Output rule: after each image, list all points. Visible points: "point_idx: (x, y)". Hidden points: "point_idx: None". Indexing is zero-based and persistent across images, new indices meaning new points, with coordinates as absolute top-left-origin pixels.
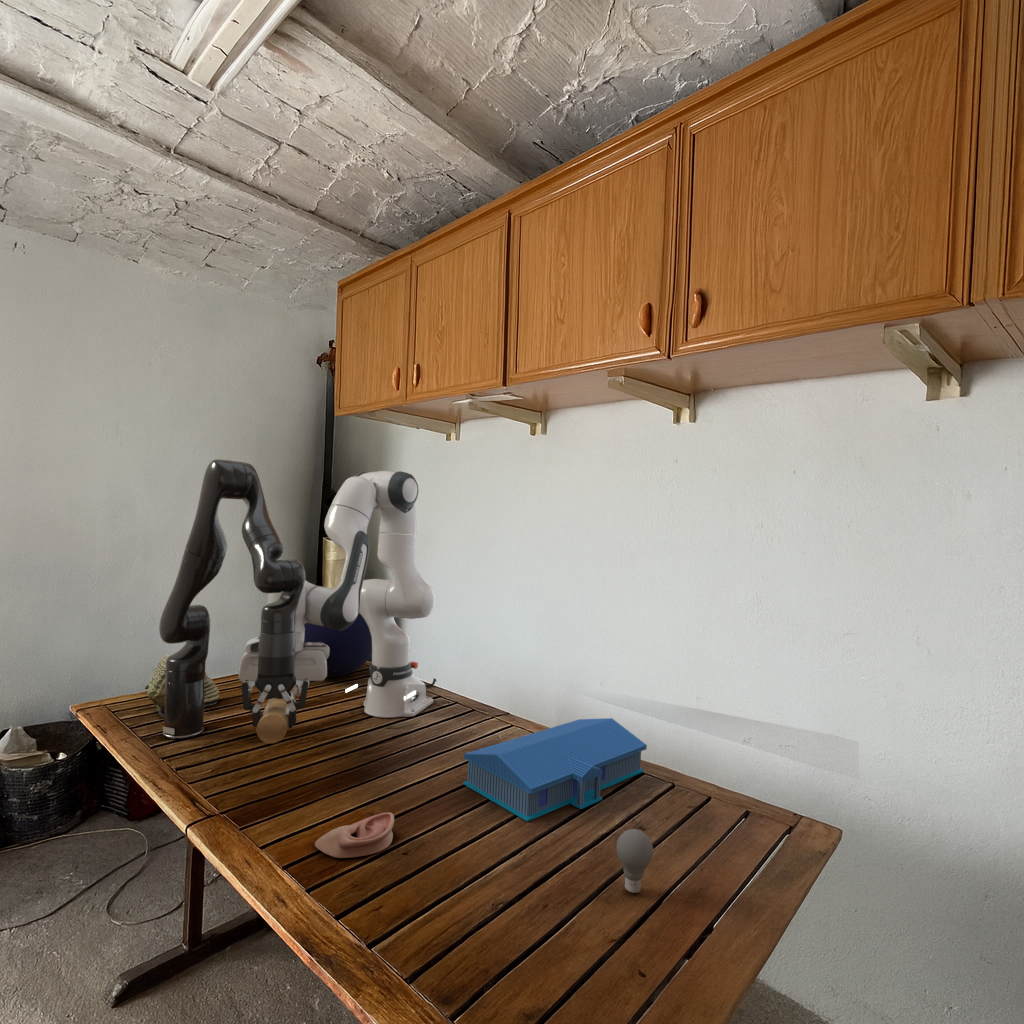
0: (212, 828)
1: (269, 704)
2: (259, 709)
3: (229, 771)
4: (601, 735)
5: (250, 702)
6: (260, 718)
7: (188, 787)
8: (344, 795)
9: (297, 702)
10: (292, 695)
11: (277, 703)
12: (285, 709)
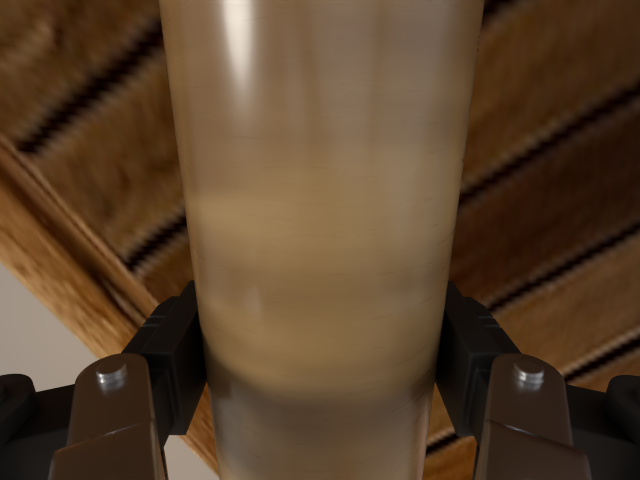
0: (211, 421)
1: (225, 222)
2: (162, 401)
3: (130, 55)
4: None
5: (3, 442)
6: (216, 439)
7: (37, 185)
8: (549, 307)
9: (590, 451)
10: (582, 468)
11: (329, 283)
12: (421, 345)
